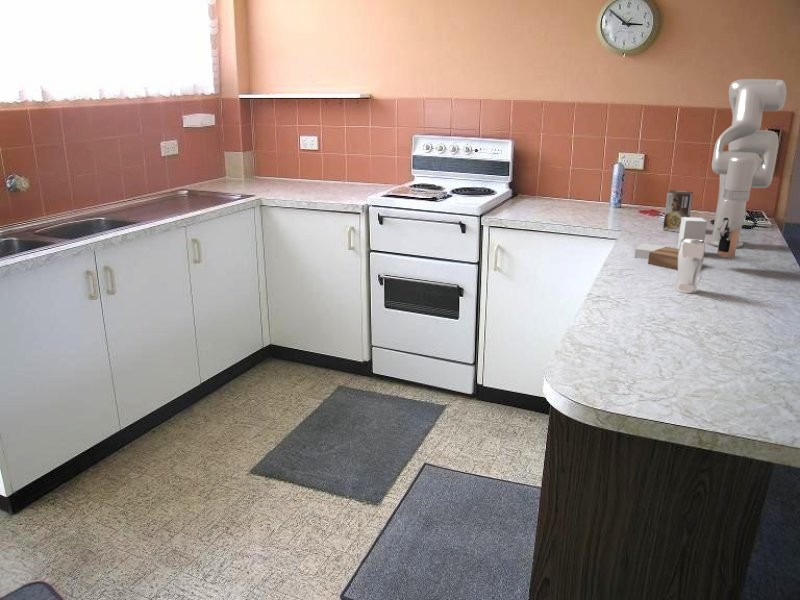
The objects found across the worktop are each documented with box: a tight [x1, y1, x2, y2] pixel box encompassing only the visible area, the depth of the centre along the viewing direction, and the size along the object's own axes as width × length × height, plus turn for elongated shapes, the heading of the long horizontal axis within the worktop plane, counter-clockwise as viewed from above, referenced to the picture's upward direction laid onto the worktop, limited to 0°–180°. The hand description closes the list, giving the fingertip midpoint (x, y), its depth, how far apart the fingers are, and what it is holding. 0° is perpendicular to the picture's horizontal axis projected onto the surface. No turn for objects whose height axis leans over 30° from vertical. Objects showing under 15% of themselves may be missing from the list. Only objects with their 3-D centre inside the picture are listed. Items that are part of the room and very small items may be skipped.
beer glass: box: [674, 238, 706, 294], centre depth 195 cm, size 7×7×15 cm
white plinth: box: [634, 243, 672, 260], centre depth 235 cm, size 10×10×3 cm
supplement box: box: [676, 216, 708, 249], centre depth 238 cm, size 7×7×13 cm
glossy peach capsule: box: [717, 228, 739, 258], centre depth 218 cm, size 5×5×9 cm
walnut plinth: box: [647, 246, 679, 271], centre depth 225 cm, size 12×12×4 cm
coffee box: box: [662, 189, 694, 233], centre depth 274 cm, size 9×6×16 cm
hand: (727, 249), depth 219 cm, fingers closed on glossy peach capsule, 5 cm apart
